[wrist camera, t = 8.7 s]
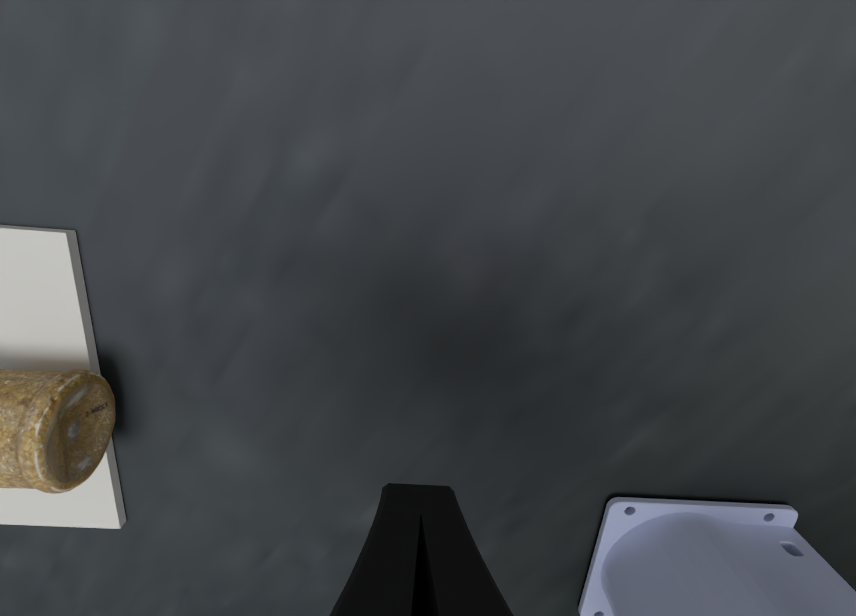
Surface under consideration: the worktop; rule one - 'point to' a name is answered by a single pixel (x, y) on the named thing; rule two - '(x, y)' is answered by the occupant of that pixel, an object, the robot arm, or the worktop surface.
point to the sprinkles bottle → (53, 428)
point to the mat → (52, 363)
